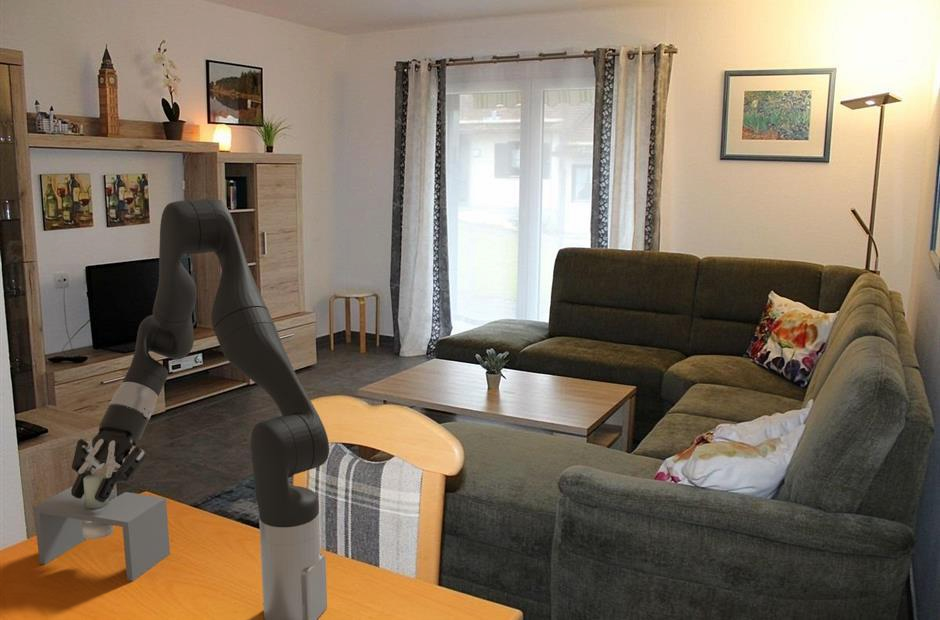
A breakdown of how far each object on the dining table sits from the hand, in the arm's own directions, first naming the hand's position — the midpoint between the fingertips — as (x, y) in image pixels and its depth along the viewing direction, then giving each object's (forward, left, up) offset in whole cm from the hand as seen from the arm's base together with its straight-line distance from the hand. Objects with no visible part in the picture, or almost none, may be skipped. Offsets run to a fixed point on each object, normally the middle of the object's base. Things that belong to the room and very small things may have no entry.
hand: (87, 498), depth 140 cm
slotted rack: (0, -2, -13) cm, 13 cm away
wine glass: (0, -2, -7) cm, 8 cm away
